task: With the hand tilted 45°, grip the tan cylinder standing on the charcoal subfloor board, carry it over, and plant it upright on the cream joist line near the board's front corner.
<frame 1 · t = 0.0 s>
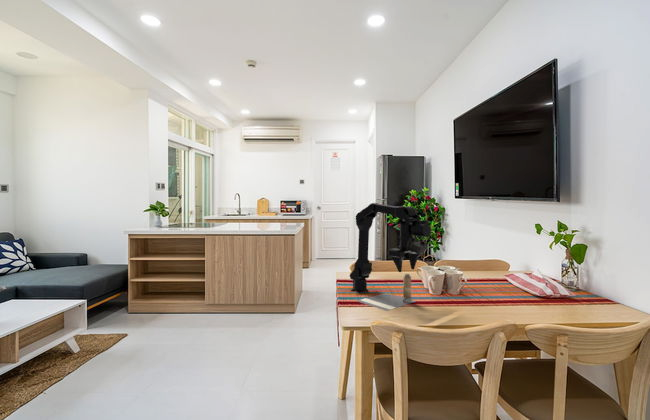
hand: (406, 270, 145), 14 cm above the table, tool pointing down, fingers open, 9 cm apart
subfloor board: (386, 303, 145), on the table
tan cylinder: (407, 301, 144), point 1 cm above the table, touching subfloor board
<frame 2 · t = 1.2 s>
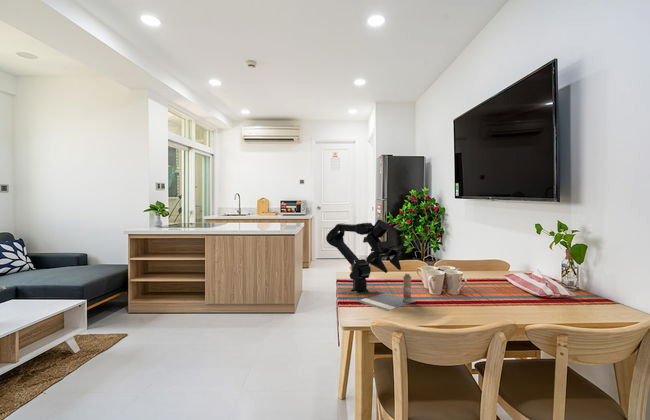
hand: (393, 271, 149), 13 cm above the table, tool tilted 45°, fingers open, 9 cm apart
nothing on the table moved.
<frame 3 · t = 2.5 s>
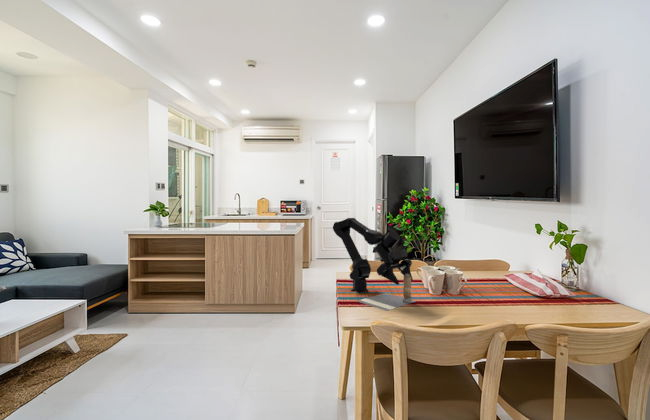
hand: (405, 282, 144), 9 cm above the table, tool tilted 45°, fingers open, 9 cm apart
nothing on the table moved.
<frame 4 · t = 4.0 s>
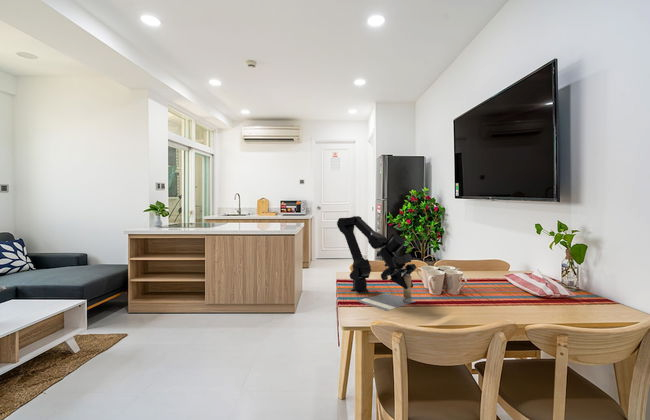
hand: (409, 287, 143), 8 cm above the table, tool tilted 45°, fingers closed on tan cylinder, 3 cm apart
tan cylinder: (407, 301, 144), point 1 cm above the table, touching gripper, subfloor board
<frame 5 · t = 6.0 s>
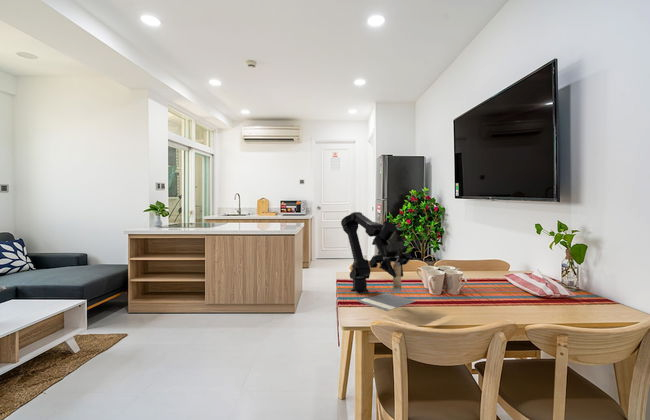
hand: (398, 276, 137), 14 cm above the table, tool tilted 45°, fingers closed on tan cylinder, 3 cm apart
tan cylinder: (396, 291, 139), point 7 cm above the table, touching gripper
when the fingers open (9 cm above the table, at t = 8.0 s): tan cylinder drops 1 cm, resting on subfloor board.
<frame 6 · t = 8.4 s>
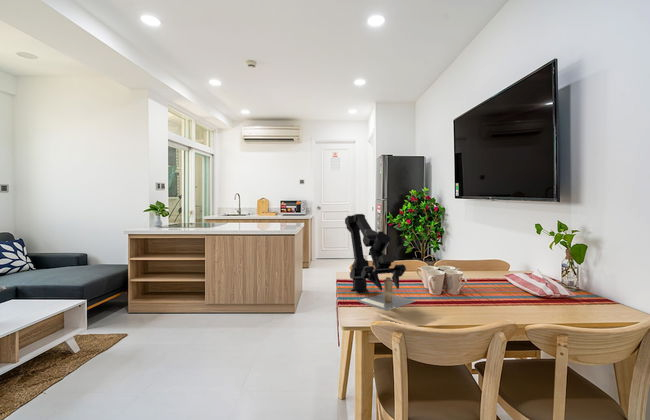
hand: (390, 289, 135), 9 cm above the table, tool tilted 45°, fingers open, 7 cm apart
tan cylinder: (388, 306, 136), point 1 cm above the table, touching subfloor board
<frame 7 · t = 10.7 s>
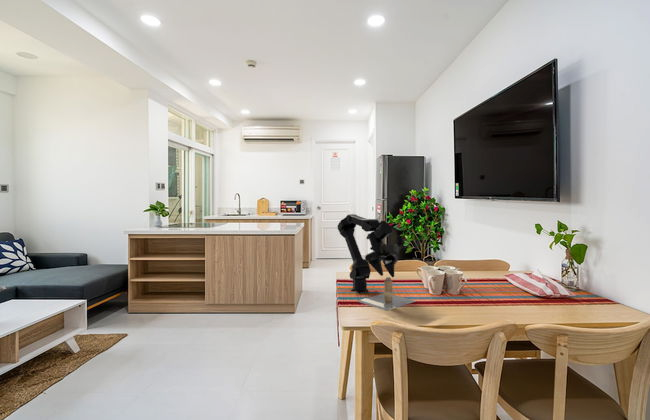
hand: (387, 276, 145), 12 cm above the table, tool tilted 30°, fingers open, 9 cm apart
nothing on the table moved.
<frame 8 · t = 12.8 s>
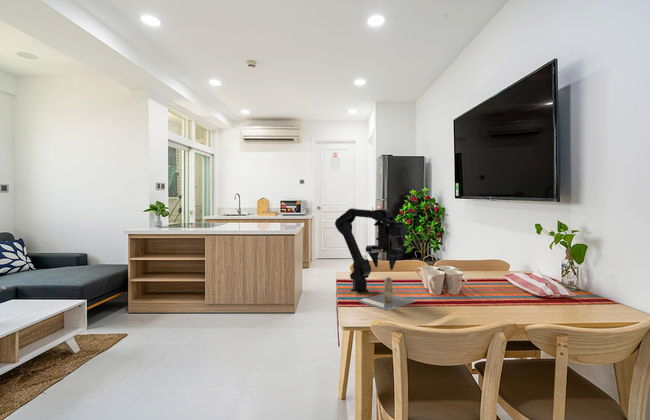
hand: (383, 268, 157), 13 cm above the table, tool pointing down, fingers open, 9 cm apart
nothing on the table moved.
at the end: tan cylinder 0.1 cm from the target spot, point 1.3 cm above the table; tan cylinder tilted 0°; the gripper is holding nothing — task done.
